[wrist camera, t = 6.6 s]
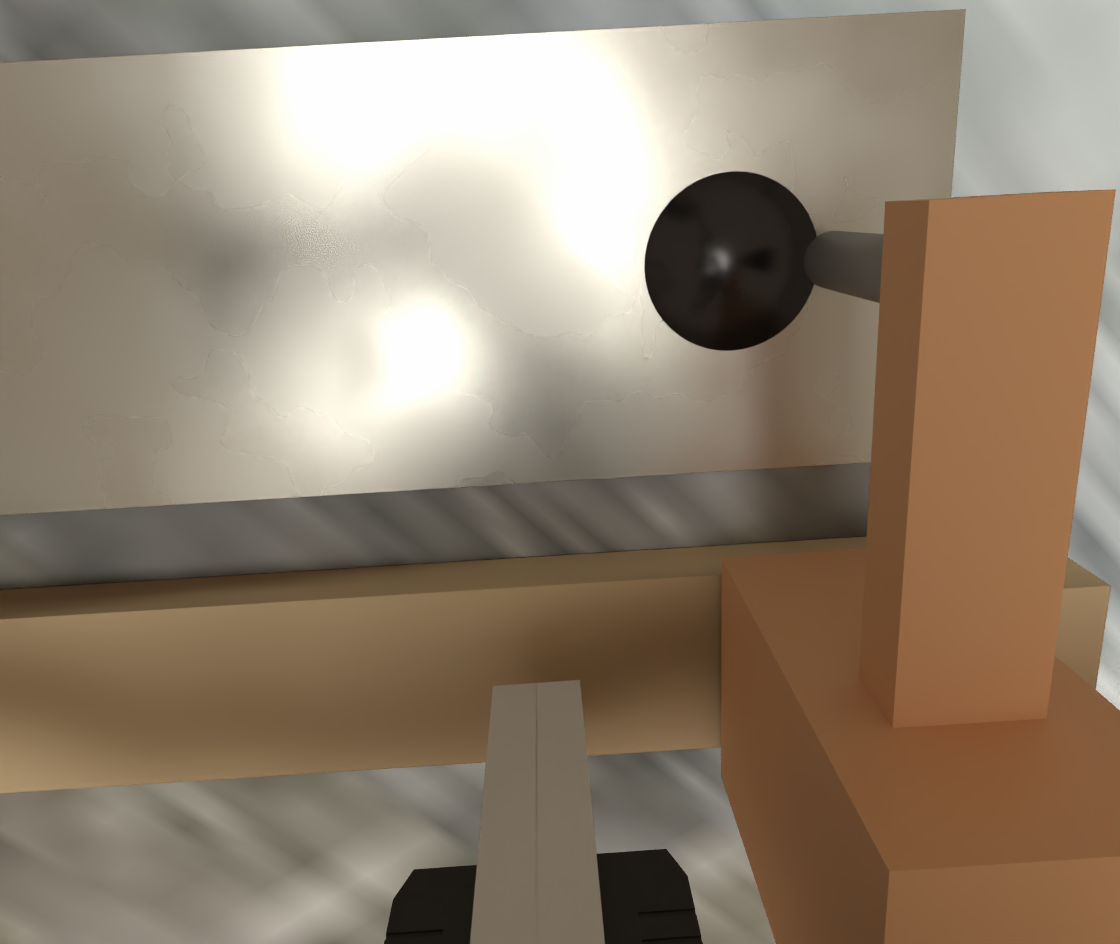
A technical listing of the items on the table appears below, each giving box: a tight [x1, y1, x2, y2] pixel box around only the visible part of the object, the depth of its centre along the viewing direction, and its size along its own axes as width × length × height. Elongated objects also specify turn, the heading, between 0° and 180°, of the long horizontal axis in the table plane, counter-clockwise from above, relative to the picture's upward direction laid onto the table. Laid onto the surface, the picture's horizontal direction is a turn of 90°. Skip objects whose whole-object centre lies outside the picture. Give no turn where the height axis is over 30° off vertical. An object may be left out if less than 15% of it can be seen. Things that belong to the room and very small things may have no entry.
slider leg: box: [721, 190, 1120, 944], centre depth 12 cm, size 12×4×8 cm, turn 3°
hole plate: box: [0, 9, 966, 515], centre depth 16 cm, size 8×28×1 cm, turn 93°
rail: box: [0, 537, 1111, 793], centre depth 17 cm, size 5×32×4 cm, turn 93°
